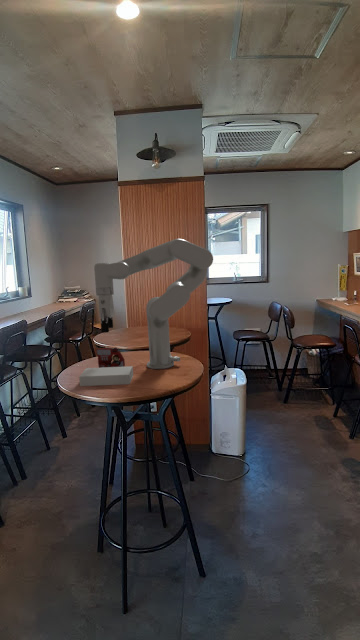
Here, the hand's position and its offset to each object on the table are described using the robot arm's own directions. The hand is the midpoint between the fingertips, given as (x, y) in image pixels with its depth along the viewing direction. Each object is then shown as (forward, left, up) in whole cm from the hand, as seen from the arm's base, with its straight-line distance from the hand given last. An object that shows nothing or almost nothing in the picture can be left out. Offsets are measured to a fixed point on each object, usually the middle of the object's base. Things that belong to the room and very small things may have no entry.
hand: (107, 330), depth 164 cm
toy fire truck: (0, 0, -19) cm, 19 cm away
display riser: (-1, +14, -19) cm, 23 cm away
